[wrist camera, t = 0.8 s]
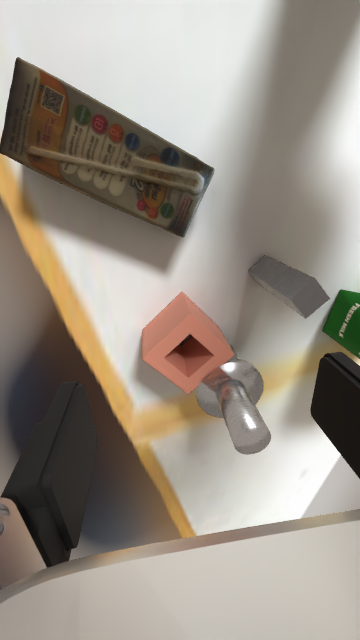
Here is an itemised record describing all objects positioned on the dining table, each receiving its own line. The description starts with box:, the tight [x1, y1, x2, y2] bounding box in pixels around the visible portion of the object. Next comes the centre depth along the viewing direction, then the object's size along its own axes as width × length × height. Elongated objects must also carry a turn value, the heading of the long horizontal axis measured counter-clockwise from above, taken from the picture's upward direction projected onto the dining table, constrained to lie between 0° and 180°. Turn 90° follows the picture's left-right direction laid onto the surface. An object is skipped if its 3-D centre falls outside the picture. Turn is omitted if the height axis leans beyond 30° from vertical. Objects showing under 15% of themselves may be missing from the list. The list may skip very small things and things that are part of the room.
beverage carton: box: [0, 57, 214, 237], centre depth 28 cm, size 8×19×7 cm, turn 65°
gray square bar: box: [248, 255, 330, 318], centre depth 32 cm, size 3×3×12 cm
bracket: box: [142, 292, 235, 394], centre depth 37 cm, size 8×11×8 cm
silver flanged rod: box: [196, 345, 271, 454], centre depth 36 cm, size 9×9×16 cm
